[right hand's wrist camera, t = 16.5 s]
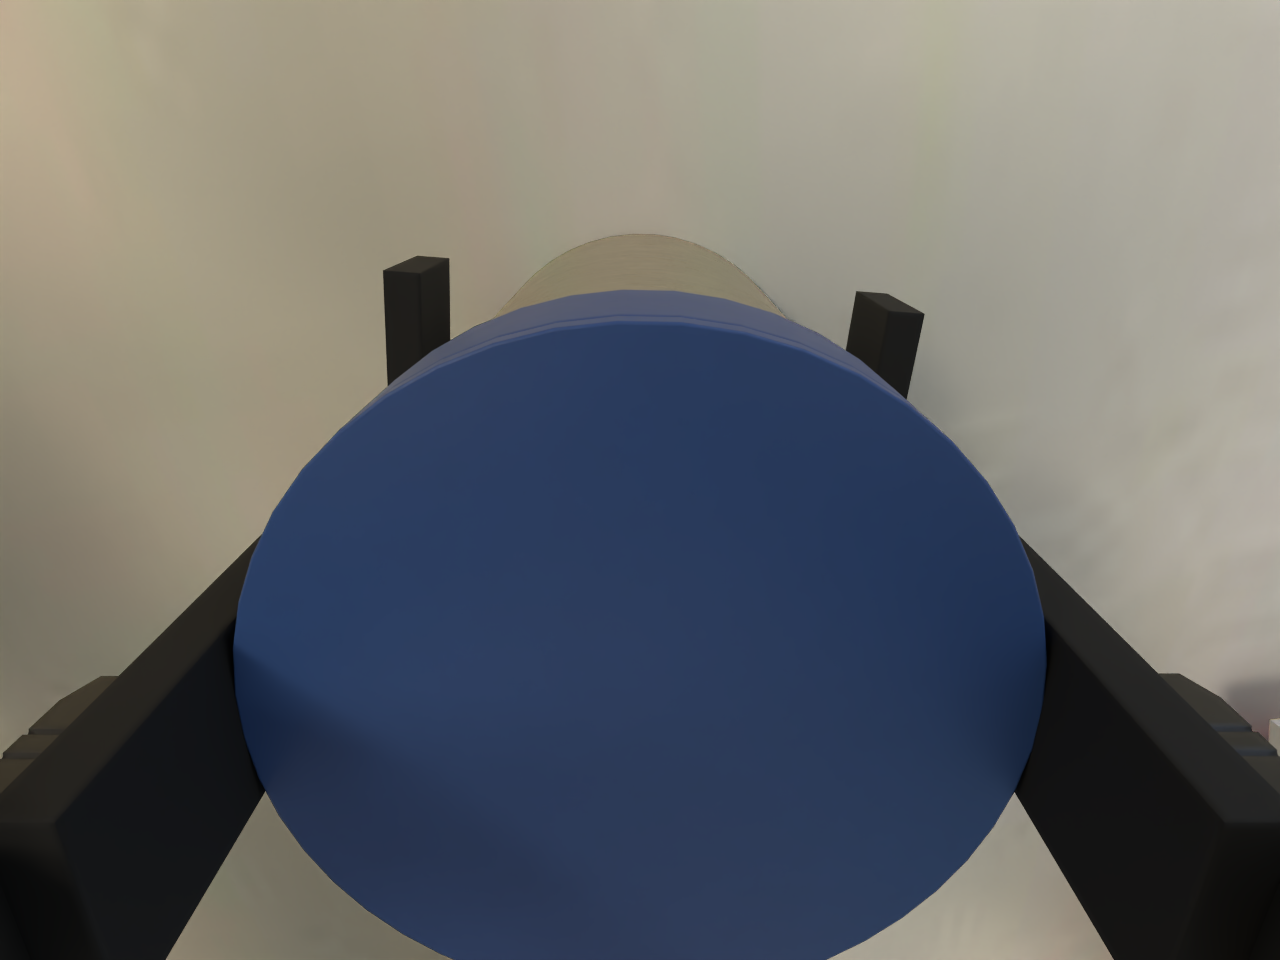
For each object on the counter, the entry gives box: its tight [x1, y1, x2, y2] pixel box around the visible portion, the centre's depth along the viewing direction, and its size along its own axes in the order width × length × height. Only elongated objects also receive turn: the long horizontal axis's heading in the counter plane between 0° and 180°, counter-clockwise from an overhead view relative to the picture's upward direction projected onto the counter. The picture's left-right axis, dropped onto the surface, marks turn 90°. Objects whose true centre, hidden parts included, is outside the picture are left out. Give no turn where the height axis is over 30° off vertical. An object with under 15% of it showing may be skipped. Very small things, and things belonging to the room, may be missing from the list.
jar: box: [493, 234, 787, 319], centre depth 18 cm, size 10×10×16 cm
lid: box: [233, 290, 1047, 960], centre depth 12 cm, size 11×11×2 cm
